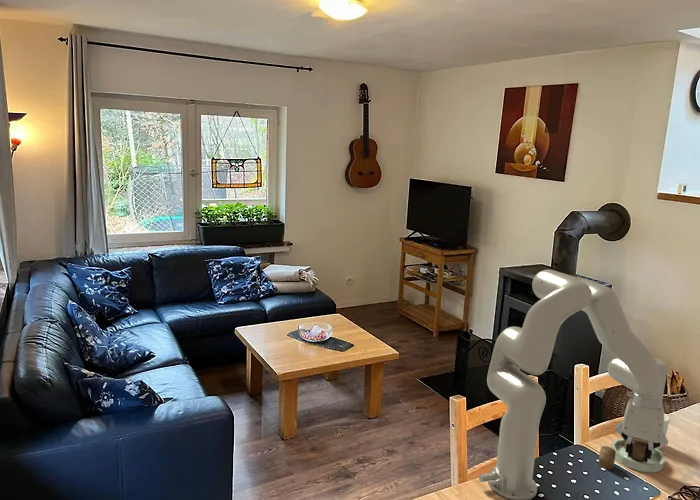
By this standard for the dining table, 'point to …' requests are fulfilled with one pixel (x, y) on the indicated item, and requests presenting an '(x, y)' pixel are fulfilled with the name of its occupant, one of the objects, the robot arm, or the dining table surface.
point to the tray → (650, 466)
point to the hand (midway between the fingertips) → (637, 456)
